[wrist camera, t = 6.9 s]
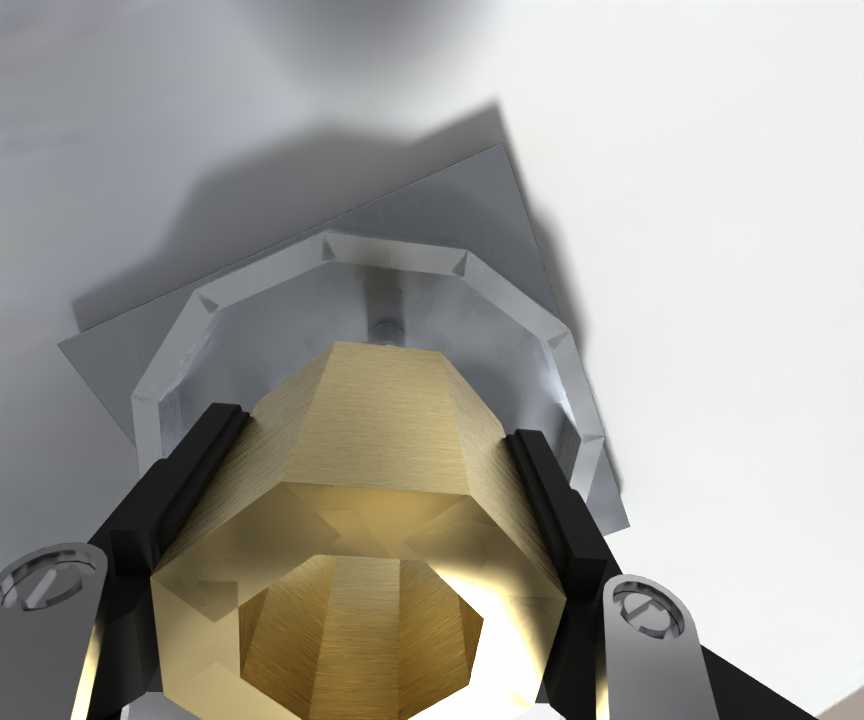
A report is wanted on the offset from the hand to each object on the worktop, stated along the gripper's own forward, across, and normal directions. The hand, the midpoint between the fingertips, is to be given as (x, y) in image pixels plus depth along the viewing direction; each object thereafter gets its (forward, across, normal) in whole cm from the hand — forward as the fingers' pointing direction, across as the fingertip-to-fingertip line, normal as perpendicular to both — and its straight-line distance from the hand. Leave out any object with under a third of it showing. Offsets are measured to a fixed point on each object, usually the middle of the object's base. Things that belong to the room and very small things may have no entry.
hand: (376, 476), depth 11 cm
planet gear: (+1, 0, 0) cm, 1 cm away
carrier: (+12, 0, +6) cm, 13 cm away
